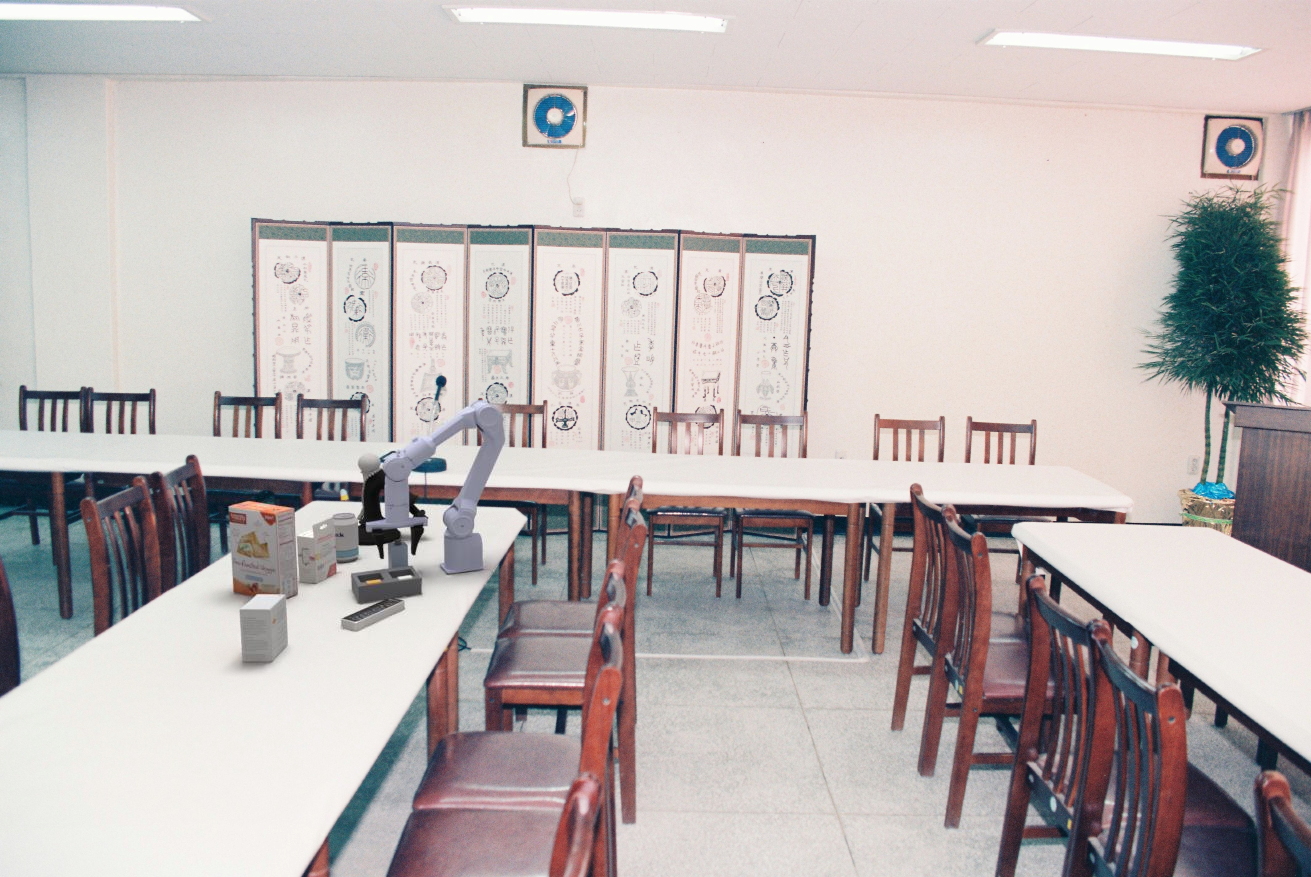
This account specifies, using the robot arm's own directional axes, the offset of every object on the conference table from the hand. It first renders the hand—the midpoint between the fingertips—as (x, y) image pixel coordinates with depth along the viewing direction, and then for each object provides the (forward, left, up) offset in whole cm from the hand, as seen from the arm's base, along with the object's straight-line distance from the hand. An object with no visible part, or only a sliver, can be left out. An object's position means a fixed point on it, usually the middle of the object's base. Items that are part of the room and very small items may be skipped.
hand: (397, 556), depth 193 cm
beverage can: (+10, -18, -5) cm, 21 cm away
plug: (0, 0, -5) cm, 5 cm away
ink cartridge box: (+18, -6, -5) cm, 20 cm away
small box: (+32, +35, -5) cm, 48 cm away
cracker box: (+30, +1, -5) cm, 30 cm away
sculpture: (-4, -33, -5) cm, 34 cm away
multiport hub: (+10, +26, -6) cm, 28 cm away
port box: (+5, +11, -5) cm, 13 cm away
